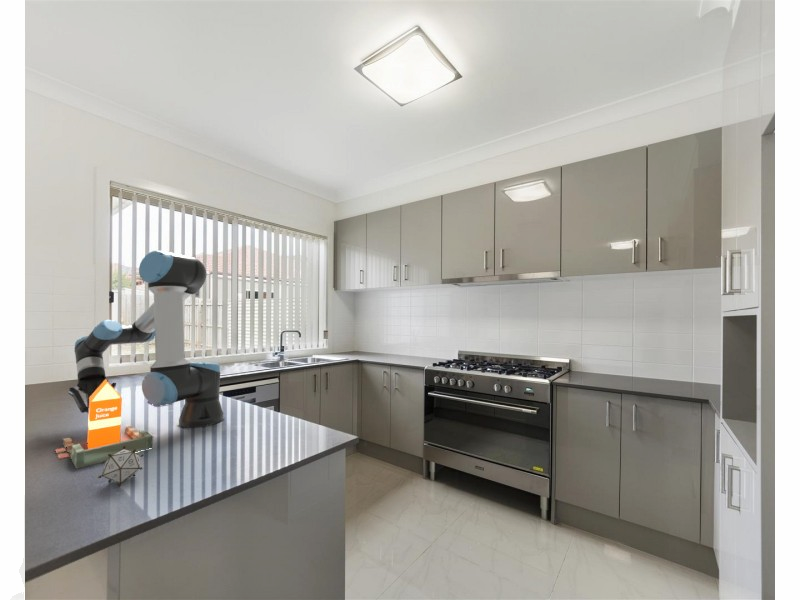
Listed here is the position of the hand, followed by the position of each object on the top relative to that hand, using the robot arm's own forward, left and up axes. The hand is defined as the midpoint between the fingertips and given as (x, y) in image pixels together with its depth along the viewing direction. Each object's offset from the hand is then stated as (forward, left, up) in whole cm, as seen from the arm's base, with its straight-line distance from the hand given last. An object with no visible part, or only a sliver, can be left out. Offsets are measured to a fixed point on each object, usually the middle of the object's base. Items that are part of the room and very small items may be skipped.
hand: (98, 426), depth 113 cm
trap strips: (-4, +13, -4) cm, 14 cm away
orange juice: (-7, +4, -4) cm, 9 cm away
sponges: (+18, -43, -4) cm, 47 cm away
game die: (-38, +25, -4) cm, 46 cm away
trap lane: (-12, +7, -4) cm, 14 cm away
